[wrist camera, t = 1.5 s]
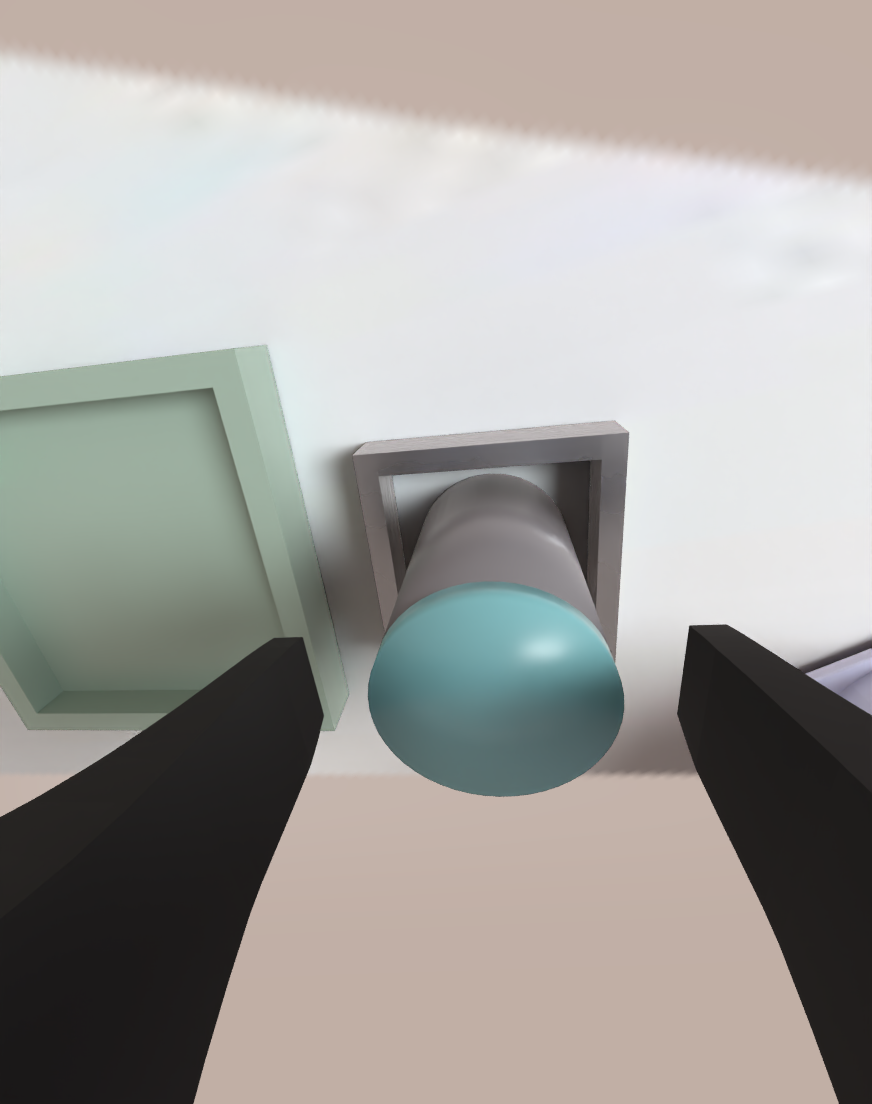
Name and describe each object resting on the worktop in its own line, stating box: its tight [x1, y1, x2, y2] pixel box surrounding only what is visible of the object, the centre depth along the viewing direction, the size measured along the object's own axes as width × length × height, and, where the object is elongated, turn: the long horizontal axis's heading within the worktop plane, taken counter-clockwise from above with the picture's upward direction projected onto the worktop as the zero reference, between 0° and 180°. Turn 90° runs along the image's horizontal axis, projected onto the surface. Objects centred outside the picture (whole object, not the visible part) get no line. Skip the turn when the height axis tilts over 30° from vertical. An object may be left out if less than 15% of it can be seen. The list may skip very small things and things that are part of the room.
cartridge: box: [368, 474, 624, 797], centre depth 12 cm, size 4×4×7 cm
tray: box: [0, 345, 349, 731], centre depth 15 cm, size 12×12×2 cm
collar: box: [352, 421, 629, 662], centre depth 14 cm, size 7×7×2 cm
